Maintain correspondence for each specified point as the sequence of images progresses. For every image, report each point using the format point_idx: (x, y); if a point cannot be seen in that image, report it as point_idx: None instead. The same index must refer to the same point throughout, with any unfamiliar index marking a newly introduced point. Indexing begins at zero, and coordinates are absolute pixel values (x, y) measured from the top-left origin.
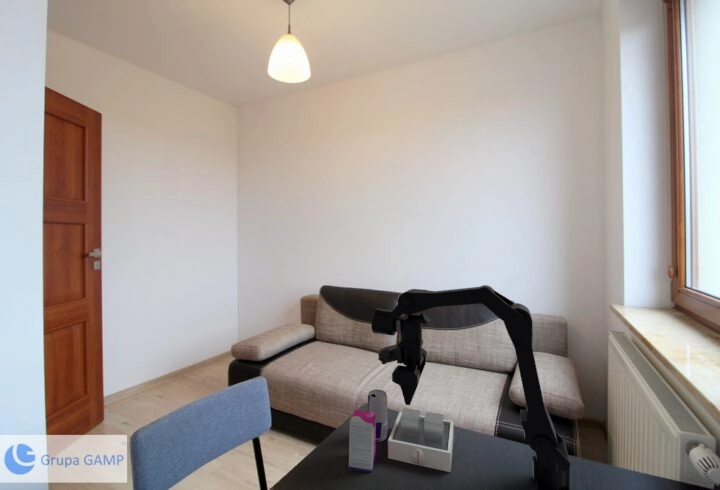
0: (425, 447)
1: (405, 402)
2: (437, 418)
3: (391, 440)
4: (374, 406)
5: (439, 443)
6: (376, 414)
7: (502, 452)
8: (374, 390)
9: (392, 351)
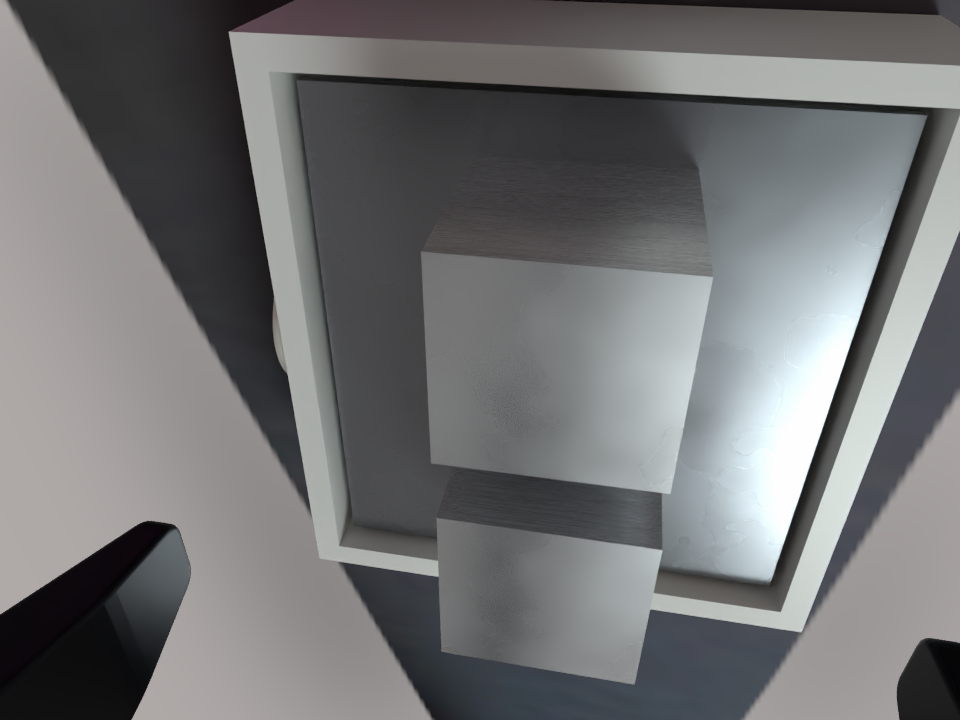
0: (300, 409)
1: (108, 553)
2: (532, 629)
3: (245, 77)
4: None
5: (441, 494)
6: None
7: (653, 711)
8: None
9: None
